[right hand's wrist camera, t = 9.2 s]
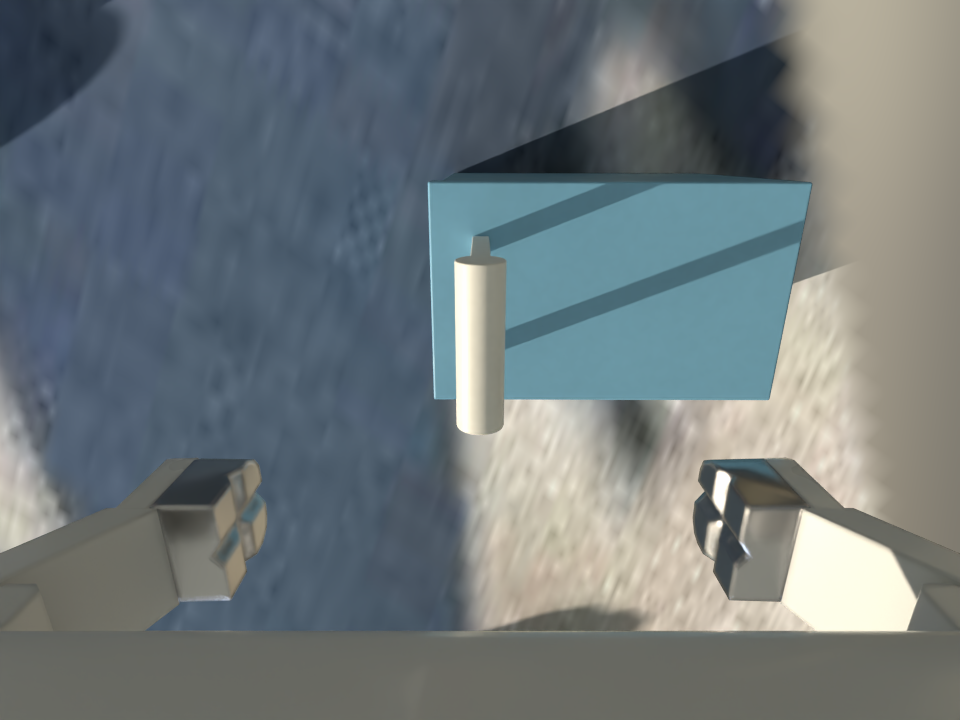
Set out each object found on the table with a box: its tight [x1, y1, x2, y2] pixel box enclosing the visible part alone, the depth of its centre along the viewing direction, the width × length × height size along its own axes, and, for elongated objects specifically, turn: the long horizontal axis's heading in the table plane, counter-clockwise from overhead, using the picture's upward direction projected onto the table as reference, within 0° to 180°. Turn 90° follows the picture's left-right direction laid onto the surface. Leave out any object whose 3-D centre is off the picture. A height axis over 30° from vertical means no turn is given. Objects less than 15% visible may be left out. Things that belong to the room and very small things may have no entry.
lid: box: [428, 180, 812, 435], centre depth 21 cm, size 16×10×8 cm, turn 90°
